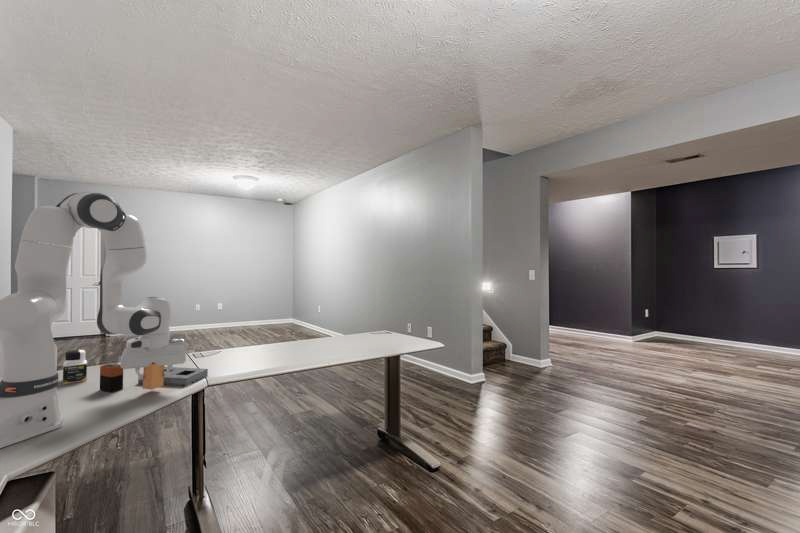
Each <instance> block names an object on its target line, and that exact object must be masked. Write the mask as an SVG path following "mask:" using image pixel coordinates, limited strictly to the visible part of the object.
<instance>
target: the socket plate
mask: <svg viewBox="0 0 800 533" xmlns="http://www.w3.org/2000/svg"><path fill="white" fill-rule="evenodd" d="M167 369H168V366H164V372H165V371H167ZM208 369H209V368H200V367H199V368H196V367H177V366H176V367H175V366H172V369H171V370H170V371H169V375H168V377H164V381H163V386H174V385H187V386H189V385H188V384H190V383H192V382H194V381H196V380H198V381H200V380H202V379H204V378H207V377H208V374H209V373H208V372H209V370H208ZM201 378H202V379H201ZM199 379H200V380H199ZM196 382H197V381H196ZM194 383H195V382H194ZM137 384H140V385H143V380H138V379H137ZM192 384H193V383H192ZM190 385H191V384H190Z"/></svg>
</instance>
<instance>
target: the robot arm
mask: <svg viewBox="0 0 800 533" xmlns="http://www.w3.org/2000/svg"><path fill="white" fill-rule="evenodd" d="M81 228H87V229H97V230H98V231H99V232H100V233H101V235H102V237H103V240H104V250H105V251H104V252H105V260H104V264H103V265H102V267H101V270H100V277H99V281H100V282H99V309H98V314H97V315H96V316H97V317H96V326H97V328H98V329H99V331H100V332H101V333H103V334H105V335H124V336H137V337H134V338H131V339H130V338H129V339H128V340H127V341H126V343H125V346H126V347H125V348H124V349H123V351H122V355H121V359H120V364H119V365H120V367H121V368H122V369H123V370H128V369H131V370H132V369H134V371H135V373H136V375H137V376H138V377H137V381H138V380H143V373H140V371H141V368H144V367H149V364H152V362H155V364H158V366H163V365H164V366H167V367H168V369H167V371H165V372H164V377H168V375H169V371H170V370H171V369H172V367H173V366H174V365H180V364H181V365H182V364H184V363H185V362H186V361H187V356H186V355H187V354H186V353H187V352H186V350H187V348H188V341H187V340H185V339H183V338H179V339H178V338H177V339H175V338H174V339H171V336H170V335H171V331H170V330H171V329H170V323H171V322H172V321H171V320H172V319H171V318H172V305H171V302H170V300H169V299H168V298H165V297H164V298H163V297H157V296H149V297H146V298H145V300H144V301H143V302H141V303H140V304H138V305H136V306H135V305H134V306H132V307H129V306H124V304H123V302H122V299H123V298H122V295H123V294H122V290H123V281H124V280H125V278H126V277H128V276H129V275H131V274H132V275H133V274H135V273H136V272H138V271H140V270H141V269H142V268H143V267H144V266H145V264H146V262H147V247H146V240H145V235H144V231H143V228H142V225H141V222H140V220H139V219H138V218H137V217H135V216H133V215H131V214H127V213H125V212H124V210H123V209H122V208H121V206H120V204H119V203H118V202H117V201H116V200H115V199H114V198H113V197H111V196H110V195H108V194H105V193H100V192H91V191H83V192H75V193H72V194H69V195H68V196H66V197H65V198H64V199H61V201H60V202H59V203H58V204H57V205H55V206H54V205H42V206H38V207H36V208H33V210H32V211H31V212H30V214H29V216H28V218H27V220H26V222H25V225H24V227H23V230H22V233H21V237H20V241H19V246H18V248H17V254H16V259H15V262H14V270H15V272H16V276H17V278H16V279H17V292H14V293H11V294H8V295H6V296H4V297H3V298H0V345H1V349H2V379H1V380H0V449H2V448H6V447H7V446H10V445H14V444H16V443H19V442H22V441H25V440H28V439H30V438H34V437H37V436H40V435H42V434H45V433H48V432H50V431H53V430H56V429H59V428H61V427H62V422H63V416H62V413H61V409H60V405H59V404H60V403H59V399H58V398H59V397H58V390H57V387H58V386H59V381H60V379H59V373H58V372H57V371H58V370H57V369H58V366H57V365H58V346H57V344H56V343H55V339H54V336H53V331H52V324H53V323H55V322H56V321H59V319H61V318H62V316H63V315H64V313H65V312H66V310H67V305H68V304H67V300H66V299H67V274H68V270H69V269H68V268H69V264H70V258H71V253H72V248H73V244H74V238H75V236H76V234H77V232H78V231H79V230H80V229H81Z"/></svg>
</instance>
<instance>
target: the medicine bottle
mask: <svg viewBox="0 0 800 533" xmlns="http://www.w3.org/2000/svg"><path fill="white" fill-rule="evenodd" d="M64 357H65V359H64V361H65V362H63V364H62V384H63V385H66V384H74V383H82V382H87V381H88V379H87V378H88V360H86V350H84V349H73V350H68V351H66V352H65V356H64Z"/></svg>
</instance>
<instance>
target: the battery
mask: <svg viewBox="0 0 800 533" xmlns="http://www.w3.org/2000/svg"><path fill="white" fill-rule="evenodd" d="M120 365H121V364H119V362H111V361H110V362H106V363H105V364H103V365H100V366H99V368H100V370H99V390H100V391H103V392H107V393H114V392H117V391H121V390H123V388H124V369H122V368H121V367H120Z"/></svg>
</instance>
